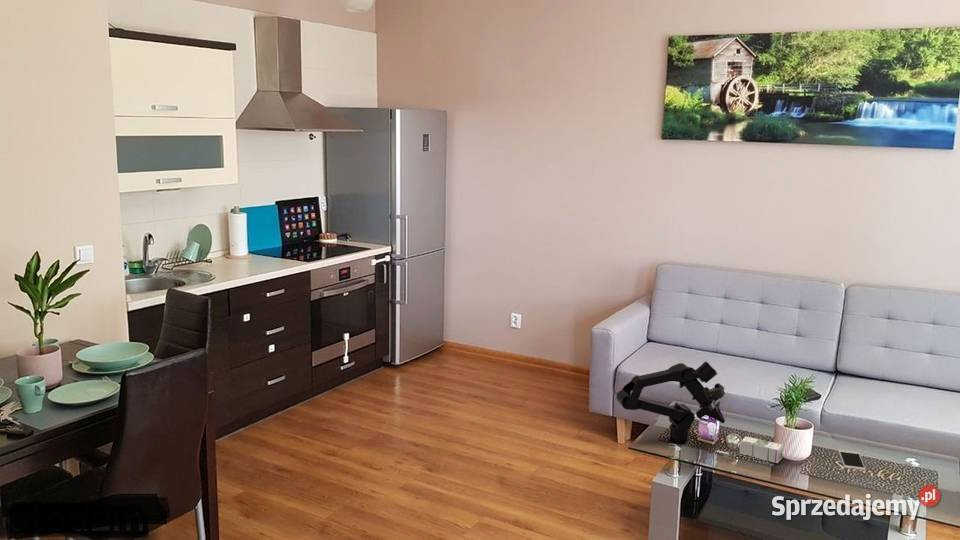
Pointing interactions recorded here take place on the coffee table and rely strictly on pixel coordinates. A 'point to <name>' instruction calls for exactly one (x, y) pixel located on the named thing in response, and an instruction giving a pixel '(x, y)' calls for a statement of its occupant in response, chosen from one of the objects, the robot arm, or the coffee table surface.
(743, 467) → the coffee table surface
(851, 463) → the smartphone
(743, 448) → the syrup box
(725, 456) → the traps
